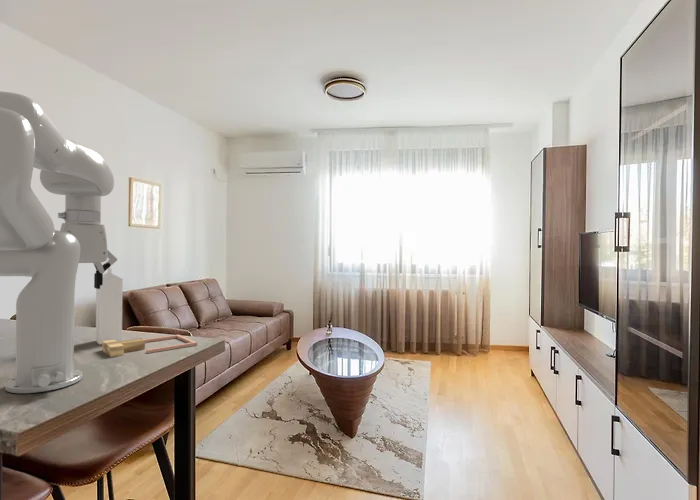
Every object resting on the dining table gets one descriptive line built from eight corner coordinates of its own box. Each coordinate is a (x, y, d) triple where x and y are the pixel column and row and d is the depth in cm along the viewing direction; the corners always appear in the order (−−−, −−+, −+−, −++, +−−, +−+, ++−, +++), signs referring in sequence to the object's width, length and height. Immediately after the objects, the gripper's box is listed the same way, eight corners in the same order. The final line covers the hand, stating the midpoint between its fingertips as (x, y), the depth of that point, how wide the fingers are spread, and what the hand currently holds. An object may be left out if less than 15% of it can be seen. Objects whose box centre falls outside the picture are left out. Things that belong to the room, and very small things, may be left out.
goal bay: (197, 345, 115) (197, 342, 115) (147, 353, 105) (147, 350, 105) (178, 337, 125) (178, 334, 125) (131, 343, 115) (131, 341, 115)
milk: (98, 344, 114) (98, 268, 114) (95, 340, 119) (95, 267, 119) (122, 341, 118) (122, 268, 118) (118, 337, 123) (119, 267, 122)
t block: (148, 351, 108) (148, 342, 108) (110, 357, 102) (111, 347, 102) (137, 345, 114) (138, 336, 114) (102, 350, 108) (102, 341, 108)
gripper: (42, 215, 92) (42, 292, 92) (125, 220, 104) (124, 288, 104) (38, 217, 98) (37, 290, 98) (117, 221, 110) (116, 286, 110)
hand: (82, 288), depth 101 cm, fingers open, 5 cm apart
